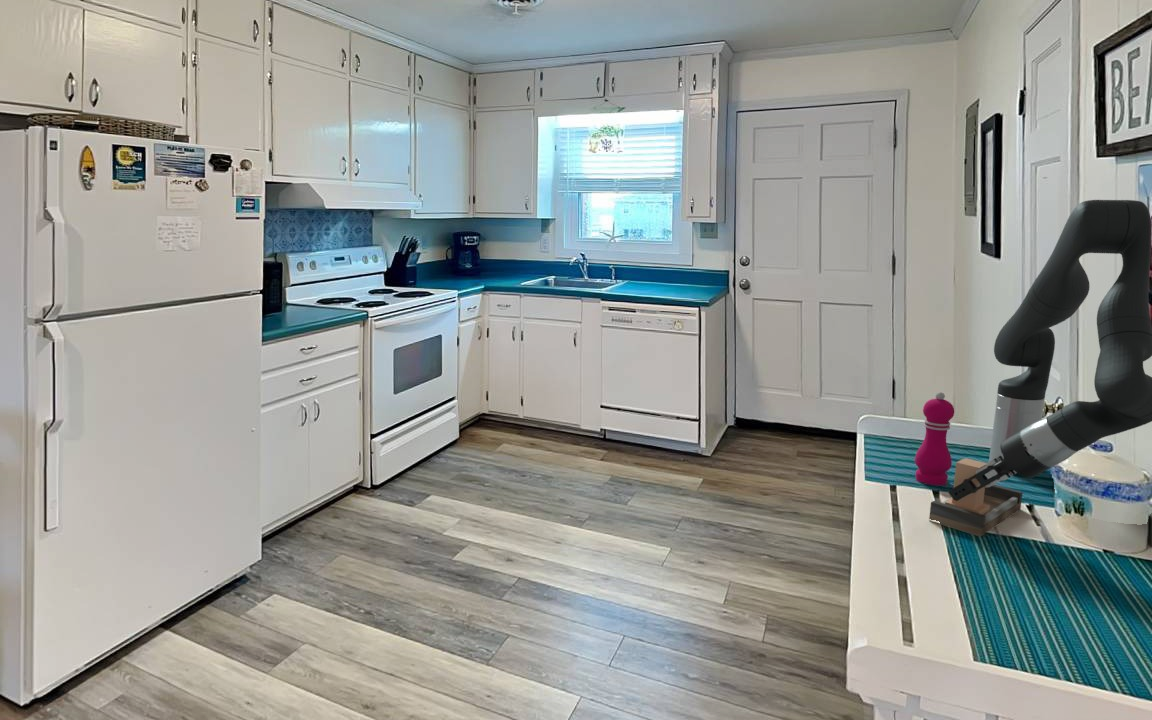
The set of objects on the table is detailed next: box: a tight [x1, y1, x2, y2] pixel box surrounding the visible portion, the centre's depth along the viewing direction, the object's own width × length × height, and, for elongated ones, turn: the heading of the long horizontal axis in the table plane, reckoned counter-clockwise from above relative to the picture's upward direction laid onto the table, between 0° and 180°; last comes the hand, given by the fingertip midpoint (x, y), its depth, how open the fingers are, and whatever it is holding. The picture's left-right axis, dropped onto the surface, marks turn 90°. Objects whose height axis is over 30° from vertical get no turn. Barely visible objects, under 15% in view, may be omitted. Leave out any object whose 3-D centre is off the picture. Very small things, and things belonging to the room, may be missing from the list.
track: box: [928, 484, 1024, 538], centre depth 134 cm, size 20×9×4 cm, turn 130°
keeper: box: [945, 457, 990, 515], centre depth 130 cm, size 5×6×10 cm
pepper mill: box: [914, 391, 955, 486], centre depth 152 cm, size 7×7×20 cm
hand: (961, 490), depth 131 cm, fingers open, 8 cm apart
